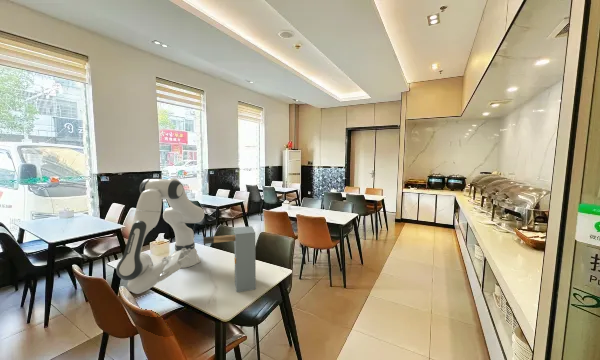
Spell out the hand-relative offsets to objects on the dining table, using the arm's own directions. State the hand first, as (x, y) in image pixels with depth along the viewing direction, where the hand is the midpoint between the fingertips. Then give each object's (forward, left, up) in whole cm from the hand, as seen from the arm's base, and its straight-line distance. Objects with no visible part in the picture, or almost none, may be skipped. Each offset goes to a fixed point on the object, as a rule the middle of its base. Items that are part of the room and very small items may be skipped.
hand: (189, 252), depth 125 cm
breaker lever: (0, +15, +5) cm, 15 cm away
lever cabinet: (0, +28, -22) cm, 35 cm away
